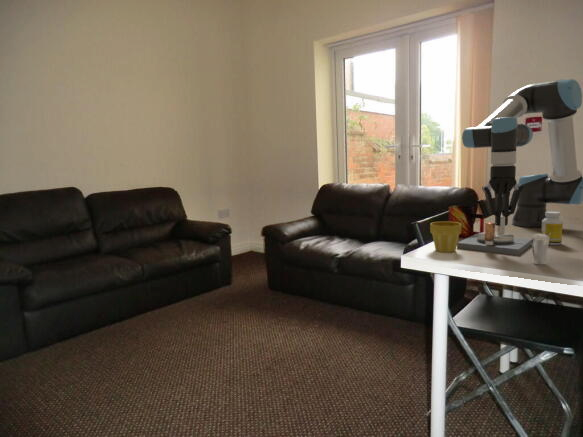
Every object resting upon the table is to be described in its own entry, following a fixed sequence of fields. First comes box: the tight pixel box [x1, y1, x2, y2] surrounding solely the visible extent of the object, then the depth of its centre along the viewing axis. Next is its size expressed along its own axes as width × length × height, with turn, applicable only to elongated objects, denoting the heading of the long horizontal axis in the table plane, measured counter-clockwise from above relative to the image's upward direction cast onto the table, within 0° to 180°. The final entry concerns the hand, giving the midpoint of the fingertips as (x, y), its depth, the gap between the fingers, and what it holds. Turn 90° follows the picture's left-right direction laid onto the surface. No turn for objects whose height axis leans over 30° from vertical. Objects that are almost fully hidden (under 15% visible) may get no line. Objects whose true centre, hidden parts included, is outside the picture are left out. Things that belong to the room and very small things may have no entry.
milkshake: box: [531, 233, 551, 266], centre depth 128 cm, size 4×5×10 cm
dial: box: [477, 222, 515, 245], centre depth 151 cm, size 18×12×8 cm
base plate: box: [456, 234, 532, 256], centre depth 154 cm, size 20×20×2 cm
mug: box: [448, 205, 485, 239], centre depth 173 cm, size 10×14×12 cm
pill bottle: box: [540, 211, 563, 246], centre depth 155 cm, size 6×6×12 cm
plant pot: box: [429, 220, 461, 254], centre depth 149 cm, size 10×10×10 cm
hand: (500, 234), depth 144 cm, fingers closed
